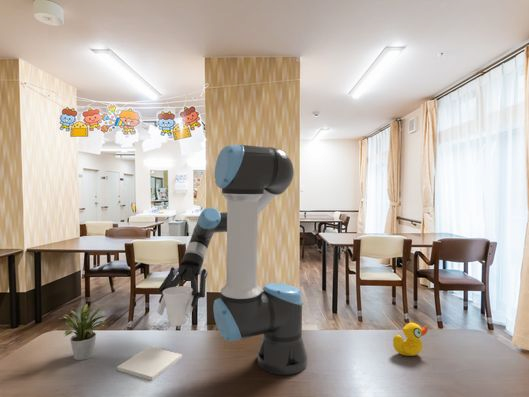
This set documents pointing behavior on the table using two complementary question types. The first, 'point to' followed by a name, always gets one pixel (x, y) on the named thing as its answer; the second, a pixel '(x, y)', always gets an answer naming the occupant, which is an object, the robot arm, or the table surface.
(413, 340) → the duckling
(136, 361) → the placemat
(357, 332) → the table surface
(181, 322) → the cup
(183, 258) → the robot arm
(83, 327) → the house plant
